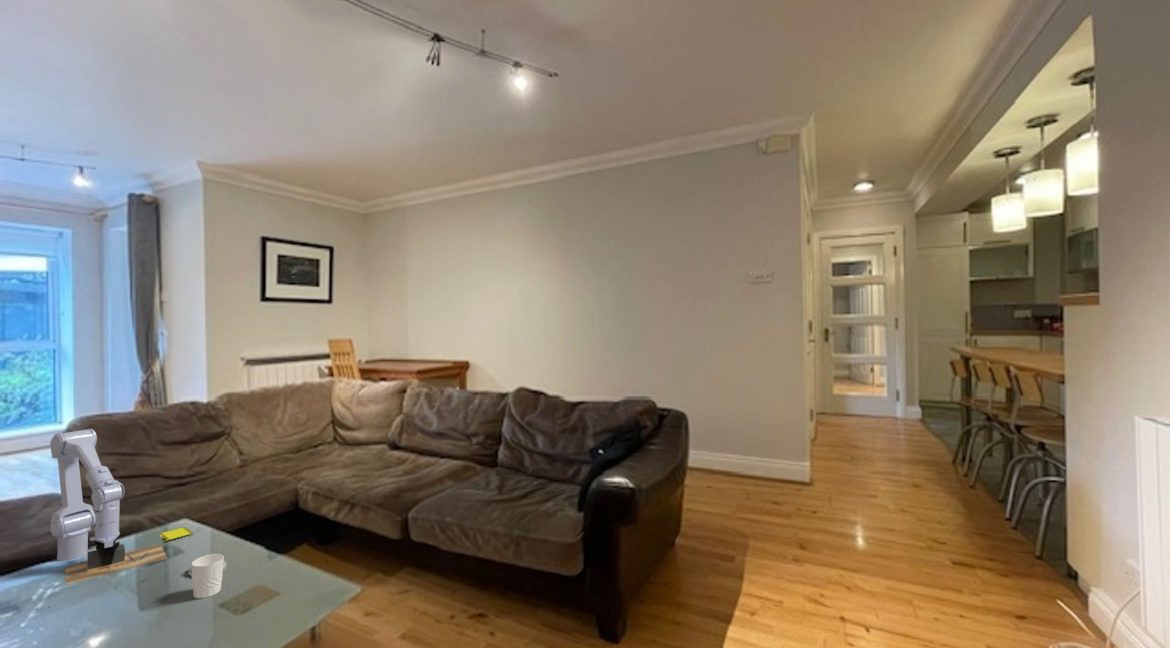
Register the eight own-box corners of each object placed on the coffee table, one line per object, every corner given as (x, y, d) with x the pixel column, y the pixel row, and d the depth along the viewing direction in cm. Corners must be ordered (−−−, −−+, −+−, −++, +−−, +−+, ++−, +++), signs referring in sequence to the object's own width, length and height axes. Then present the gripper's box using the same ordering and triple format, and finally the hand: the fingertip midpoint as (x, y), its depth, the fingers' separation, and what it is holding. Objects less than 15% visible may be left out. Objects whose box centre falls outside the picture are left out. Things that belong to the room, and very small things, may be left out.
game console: (183, 529, 197) (184, 525, 197) (194, 536, 190) (194, 532, 190) (124, 545, 182) (124, 541, 182) (133, 553, 175) (133, 549, 175)
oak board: (64, 570, 161) (64, 566, 161) (160, 547, 179) (160, 543, 179) (66, 588, 151) (66, 584, 151) (167, 561, 168) (167, 558, 168)
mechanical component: (180, 576, 159) (205, 580, 157) (180, 563, 159) (205, 566, 157) (209, 562, 169) (233, 566, 167) (210, 549, 169) (233, 553, 167)
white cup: (229, 588, 152) (230, 556, 153) (202, 602, 145) (203, 568, 145) (211, 584, 155) (212, 552, 155) (184, 596, 148) (185, 563, 148)
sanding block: (86, 567, 161) (86, 552, 161) (123, 558, 168) (124, 543, 168) (87, 572, 158) (87, 557, 158) (125, 563, 165) (125, 548, 165)
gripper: (89, 518, 165) (87, 559, 165) (91, 531, 155) (90, 574, 155) (117, 513, 170) (116, 552, 170) (122, 524, 160) (121, 566, 160)
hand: (106, 562), depth 163 cm, fingers closed on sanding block, 5 cm apart
